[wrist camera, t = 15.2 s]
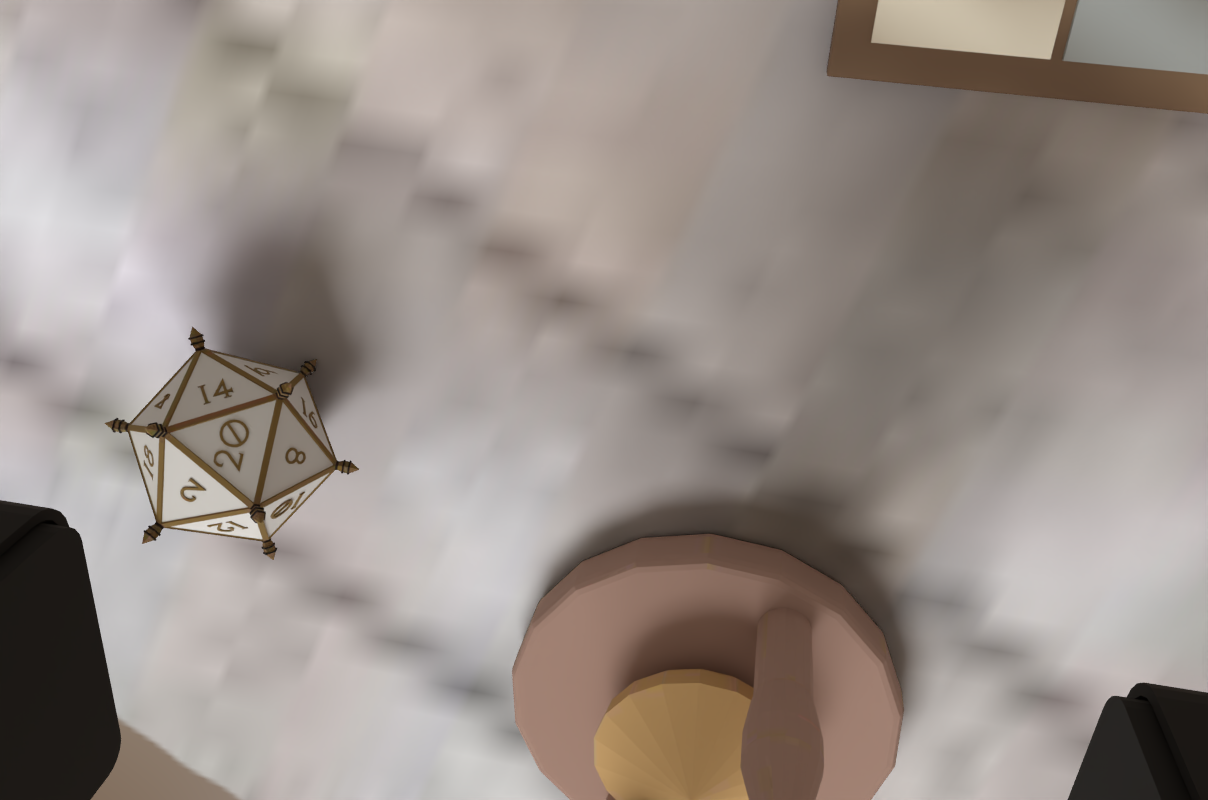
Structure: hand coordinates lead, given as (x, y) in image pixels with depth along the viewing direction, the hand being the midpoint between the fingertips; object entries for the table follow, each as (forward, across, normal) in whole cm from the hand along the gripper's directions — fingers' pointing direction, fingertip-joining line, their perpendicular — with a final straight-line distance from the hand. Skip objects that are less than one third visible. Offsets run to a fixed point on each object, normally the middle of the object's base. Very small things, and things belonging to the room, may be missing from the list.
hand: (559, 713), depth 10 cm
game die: (+31, +18, +15) cm, 38 cm away
